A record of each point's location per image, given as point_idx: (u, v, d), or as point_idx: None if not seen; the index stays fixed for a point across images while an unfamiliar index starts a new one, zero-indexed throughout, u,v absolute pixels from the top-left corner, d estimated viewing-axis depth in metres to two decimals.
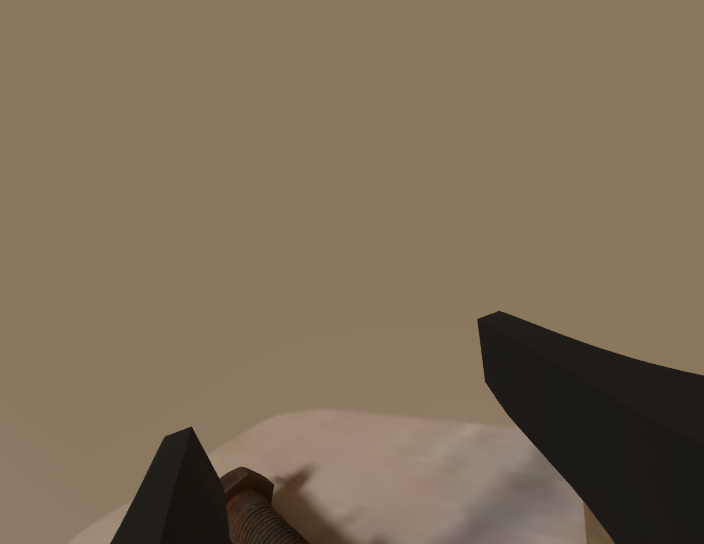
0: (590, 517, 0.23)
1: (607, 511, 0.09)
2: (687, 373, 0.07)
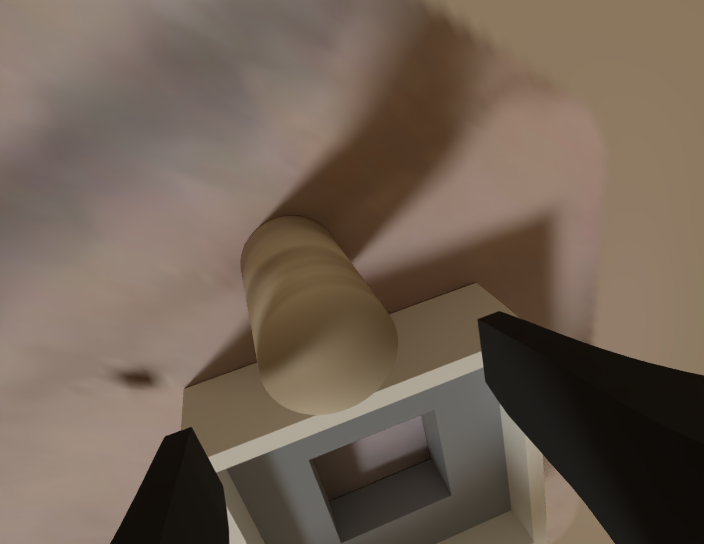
0: None
1: (607, 511, 0.09)
2: (687, 373, 0.07)
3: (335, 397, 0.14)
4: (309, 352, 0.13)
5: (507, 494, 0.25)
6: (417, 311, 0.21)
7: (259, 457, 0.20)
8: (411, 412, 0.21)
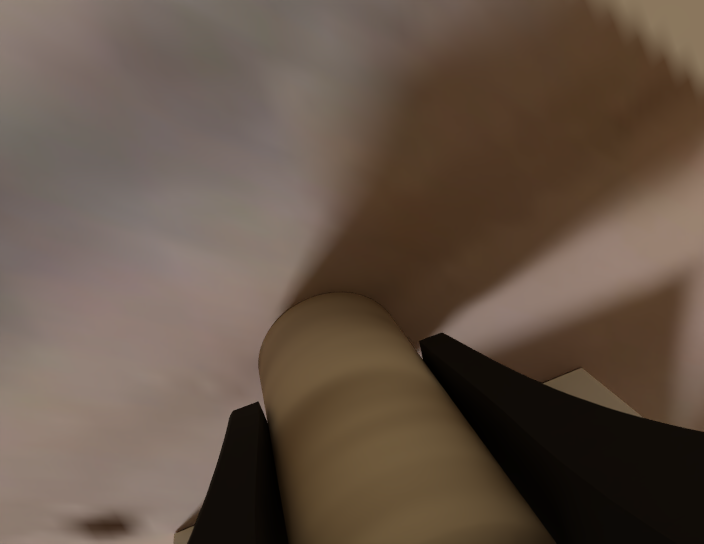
0: None
1: None
2: (605, 408, 0.07)
3: None
4: None
5: None
6: None
7: None
8: None
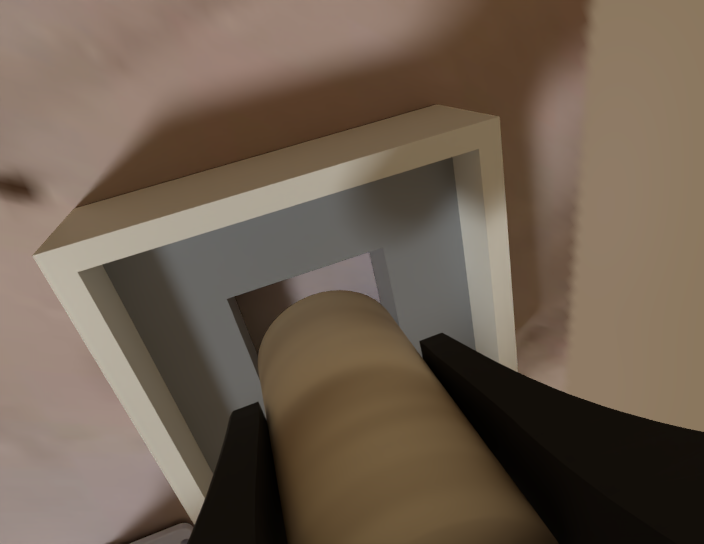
0: None
1: None
2: (605, 408, 0.07)
3: None
4: None
5: None
6: (364, 128, 0.18)
7: (162, 286, 0.16)
8: (354, 247, 0.17)
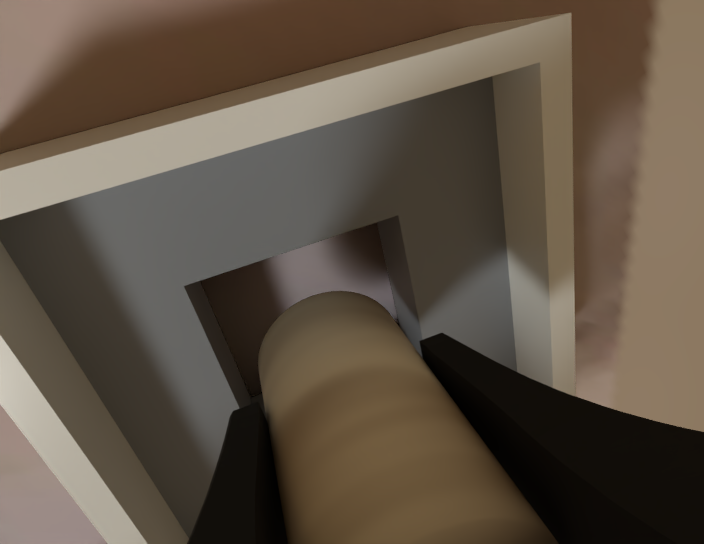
0: None
1: None
2: (605, 408, 0.07)
3: None
4: None
5: None
6: (370, 54, 0.13)
7: (89, 268, 0.11)
8: (359, 214, 0.13)
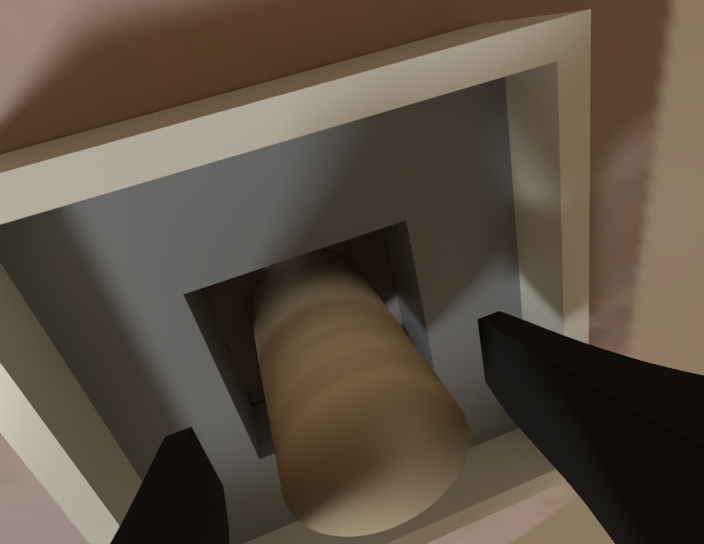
0: (277, 462, 0.10)
1: (607, 511, 0.09)
2: (687, 373, 0.07)
3: (383, 513, 0.10)
4: (352, 461, 0.09)
5: None
6: (378, 53, 0.12)
7: (84, 276, 0.11)
8: (366, 220, 0.12)
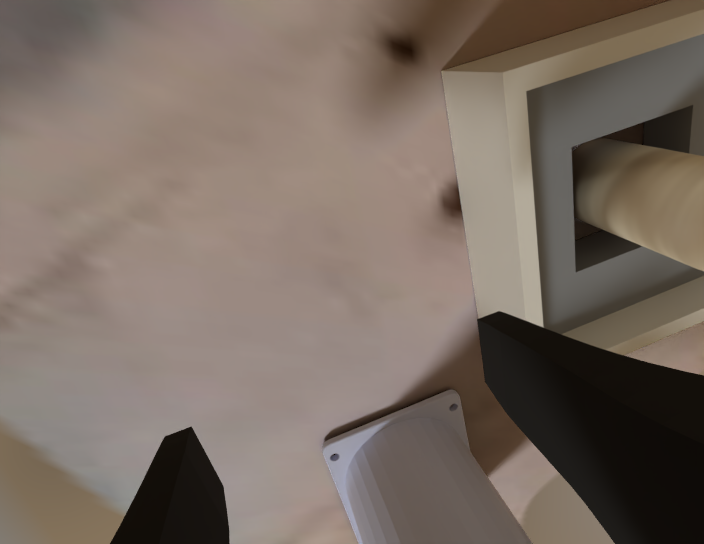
0: (663, 226, 0.18)
1: (607, 511, 0.09)
2: (687, 373, 0.07)
3: None
4: None
5: None
6: (674, 1, 0.20)
7: (530, 131, 0.18)
8: (673, 103, 0.20)
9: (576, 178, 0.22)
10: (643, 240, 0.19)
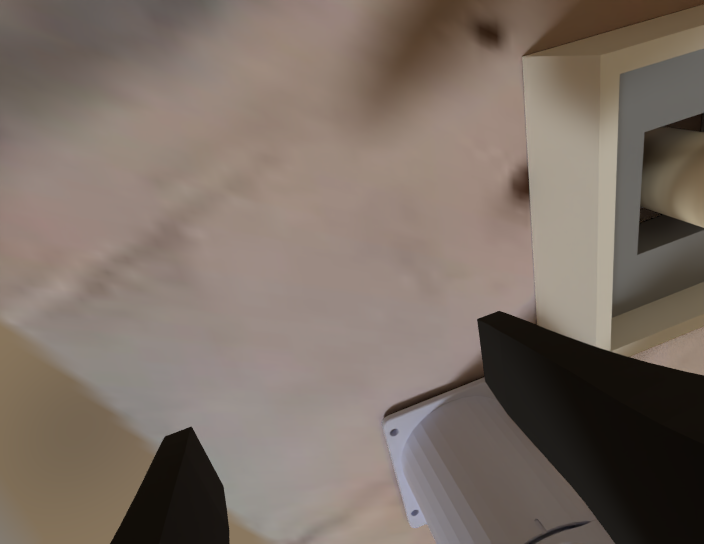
0: None
1: (607, 511, 0.09)
2: (687, 373, 0.07)
3: None
4: None
5: None
6: None
7: None
8: None
9: None
10: None
